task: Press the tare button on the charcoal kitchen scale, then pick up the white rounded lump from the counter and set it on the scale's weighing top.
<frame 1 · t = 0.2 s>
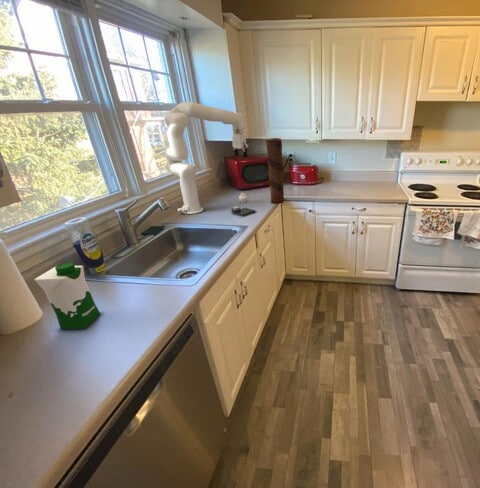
hand: (241, 156, 208), 31 cm above the countertop, tool pointing down, fingers open, 9 cm apart
wafer roll: (277, 202, 210), on the countertop
tare button: (235, 208, 183), point 4 cm above the countertop, slide at 0.1 cm
milk carton: (81, 321, 88), on the countertop
scale: (244, 213, 185), on the countertop
white rounded lump: (243, 202, 208), on the countertop
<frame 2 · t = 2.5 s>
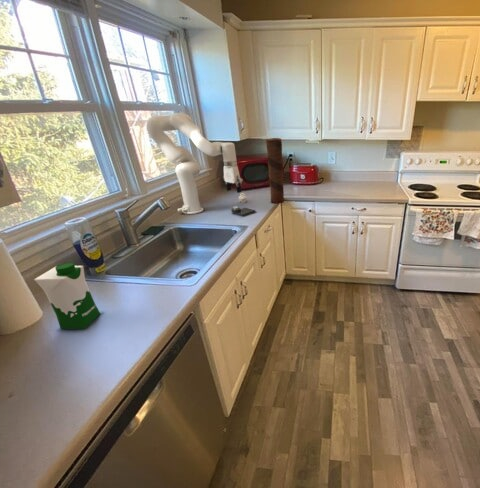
hand: (234, 191, 179), 15 cm above the countertop, tool pointing down, fingers open, 9 cm apart
nothing on the countertop moved.
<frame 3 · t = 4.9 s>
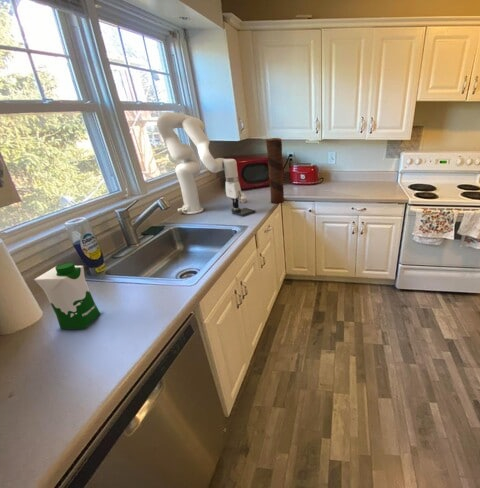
hand: (236, 207, 183), 4 cm above the countertop, tool pointing down, fingers closed
tare button: (235, 208, 183), point 3 cm above the countertop, slide at -0.2 cm, touching gripper
everything else where it was.
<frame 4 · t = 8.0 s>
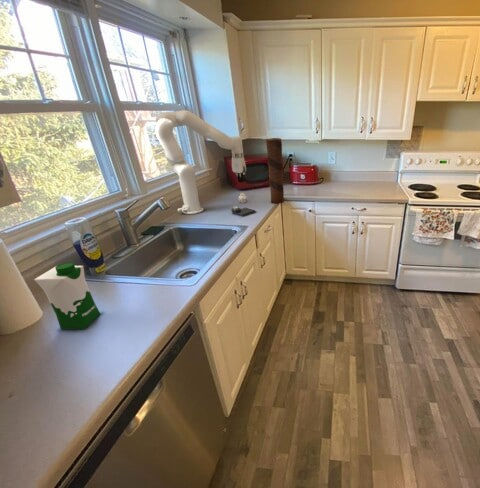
hand: (240, 182, 201), 15 cm above the countertop, tool pointing down, fingers closed
tare button: (235, 208, 183), point 4 cm above the countertop, slide at 0.1 cm
everything else where it was.
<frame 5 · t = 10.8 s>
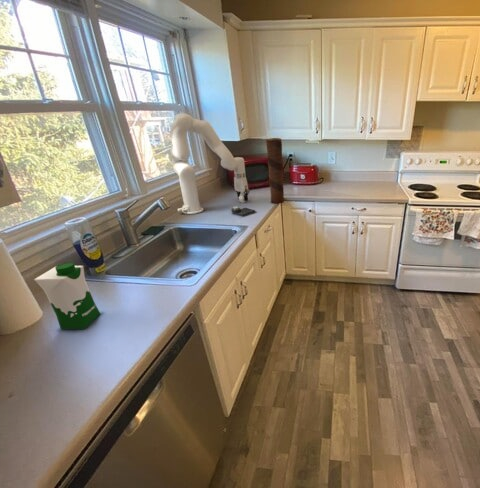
hand: (242, 199, 207), 2 cm above the countertop, tool pointing down, fingers closed on white rounded lump, 6 cm apart
white rounded lump: (243, 202, 208), on the countertop, touching gripper
everything else where it was.
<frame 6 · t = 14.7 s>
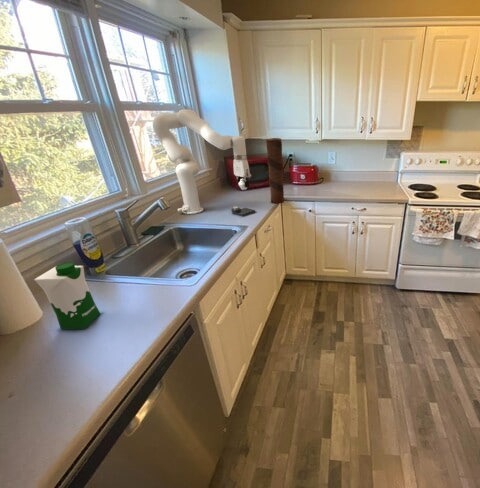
hand: (243, 186, 181), 17 cm above the countertop, tool pointing down, fingers closed on white rounded lump, 6 cm apart
white rounded lump: (243, 189, 181), point 15 cm above the countertop, touching gripper
everything else where it was.
when the fingers open (4 cm above the countertop, at t = 18.7 s): white rounded lump stays where it is, resting on scale.
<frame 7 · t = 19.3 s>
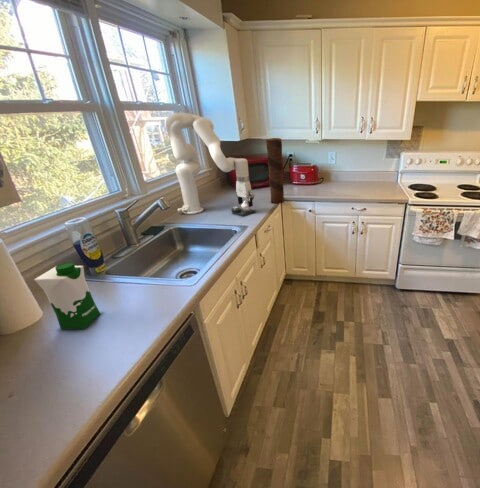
hand: (245, 205, 184), 5 cm above the countertop, tool pointing down, fingers open, 9 cm apart
white rounded lump: (246, 210, 185), point 1 cm above the countertop, touching scale
everything else where it was.
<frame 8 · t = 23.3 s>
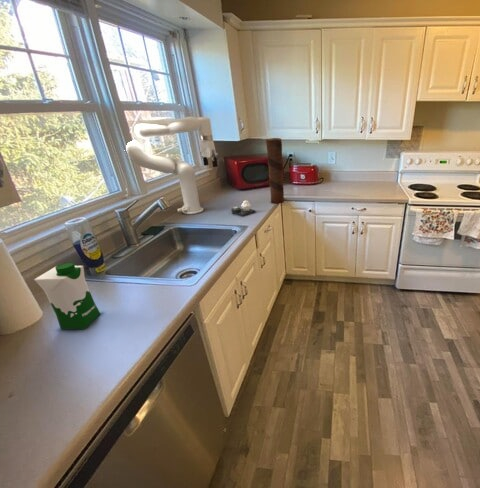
hand: (210, 166, 184), 28 cm above the countertop, tool pointing down, fingers open, 9 cm apart
nothing on the countertop moved.
at the end: tare button pushed in 0.9 cm at the most during the clip, back to where it started at the end; white rounded lump 0.5 cm from the target spot on the scale, point 1.4 cm above the scale's base; white rounded lump touching scale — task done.
